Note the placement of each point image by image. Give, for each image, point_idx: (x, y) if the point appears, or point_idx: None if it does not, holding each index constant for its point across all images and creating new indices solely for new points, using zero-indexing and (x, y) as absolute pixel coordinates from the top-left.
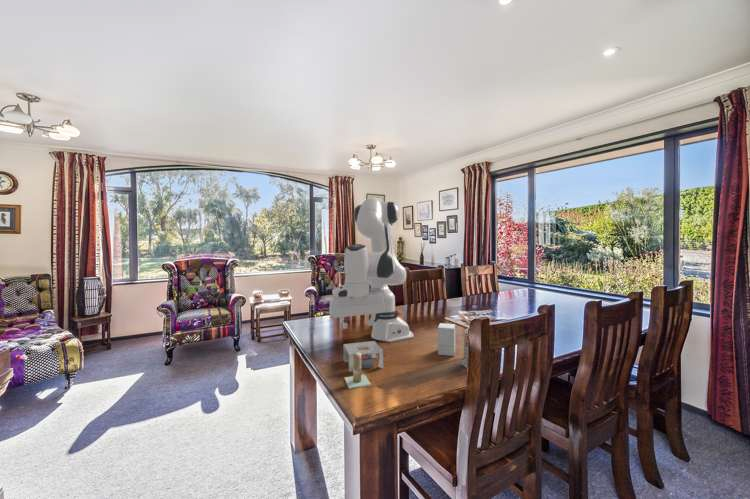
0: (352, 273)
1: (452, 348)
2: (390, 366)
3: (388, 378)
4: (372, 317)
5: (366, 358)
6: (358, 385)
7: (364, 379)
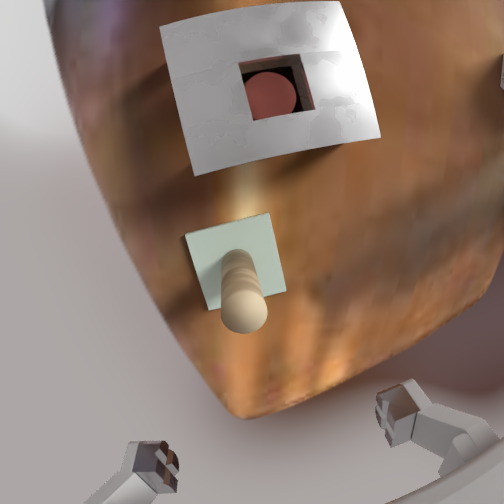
0: None
1: None
2: None
3: (353, 236)
4: (443, 449)
5: None
6: None
7: (265, 255)
